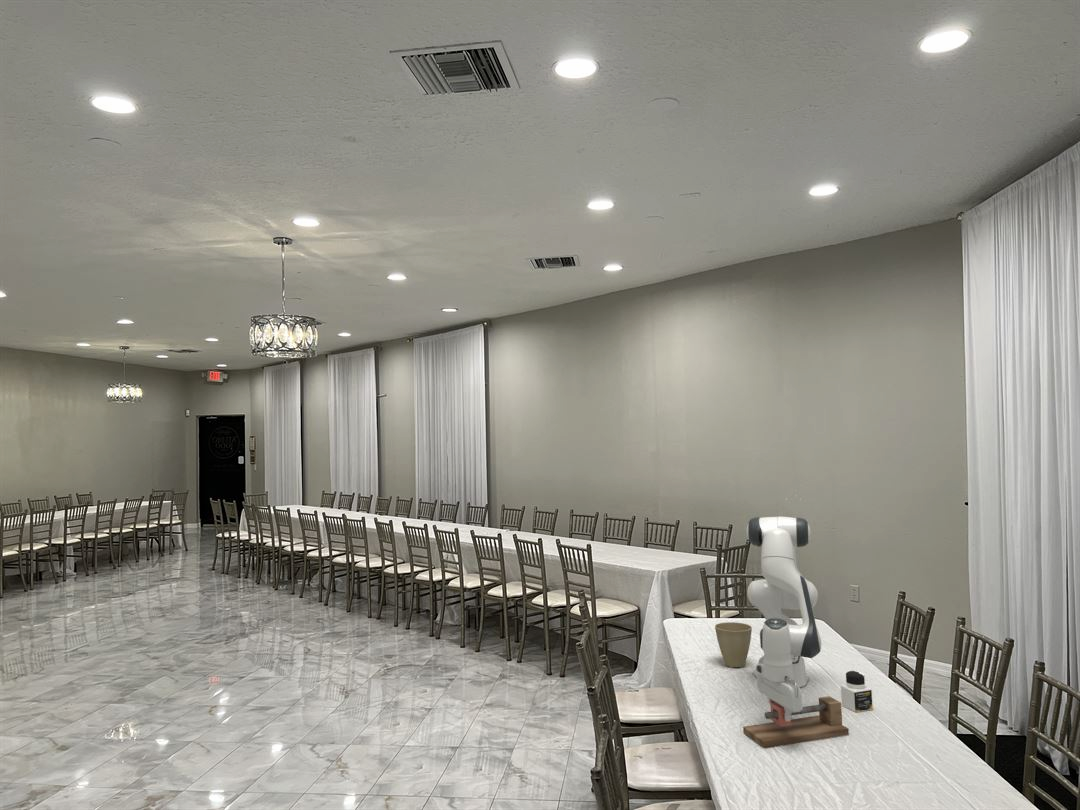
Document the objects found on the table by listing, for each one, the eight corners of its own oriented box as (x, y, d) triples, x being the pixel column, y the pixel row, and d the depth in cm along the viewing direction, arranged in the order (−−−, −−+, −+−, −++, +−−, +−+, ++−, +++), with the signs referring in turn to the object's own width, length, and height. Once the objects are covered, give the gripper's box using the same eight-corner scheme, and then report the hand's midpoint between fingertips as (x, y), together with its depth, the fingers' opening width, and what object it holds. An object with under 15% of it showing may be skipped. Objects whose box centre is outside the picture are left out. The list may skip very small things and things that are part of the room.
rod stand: (743, 733, 230) (742, 704, 230) (825, 720, 237) (823, 693, 237) (763, 748, 218) (762, 718, 218) (848, 734, 225) (847, 705, 226)
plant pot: (758, 670, 289) (756, 630, 289) (721, 671, 289) (719, 631, 290) (748, 659, 304) (746, 621, 304) (713, 660, 304) (711, 622, 305)
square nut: (771, 720, 229) (770, 702, 229) (780, 718, 230) (779, 700, 230) (781, 726, 223) (780, 708, 224) (790, 725, 224) (789, 707, 224)
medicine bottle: (855, 712, 242) (853, 677, 243) (841, 705, 249) (839, 670, 250) (873, 709, 244) (871, 674, 245) (858, 702, 251) (856, 668, 252)
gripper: (806, 681, 218) (809, 727, 217) (769, 661, 238) (771, 703, 237) (788, 683, 216) (790, 730, 216) (752, 663, 236) (754, 706, 236)
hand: (780, 716), depth 227 cm, fingers closed on square nut, 6 cm apart
